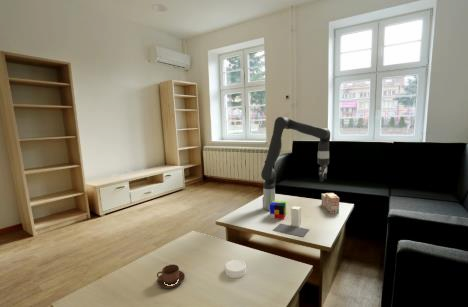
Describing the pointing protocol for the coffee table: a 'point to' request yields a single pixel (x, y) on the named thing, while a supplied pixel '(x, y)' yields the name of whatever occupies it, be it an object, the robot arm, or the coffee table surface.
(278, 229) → the mat
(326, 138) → the robot arm
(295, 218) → the tall block
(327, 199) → the stack of blocks
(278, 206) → the puzzle toy
